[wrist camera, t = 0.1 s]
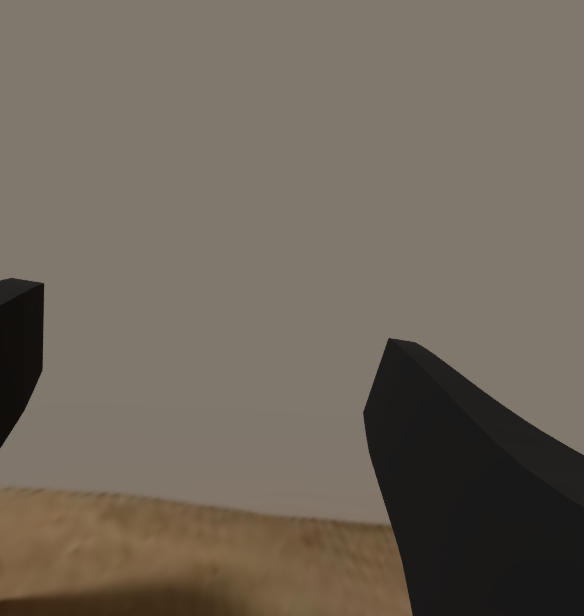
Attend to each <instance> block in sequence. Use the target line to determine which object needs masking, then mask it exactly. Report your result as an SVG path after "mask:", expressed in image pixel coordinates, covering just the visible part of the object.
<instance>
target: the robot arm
mask: <svg viewBox="0 0 584 616" xmlns="http://www.w3.org/2000/svg"><path fill="white" fill-rule="evenodd" d="M43 315H44V283H39V282H33V281H27V280H21V279H14V278H9V279H5V280H1V281H0V448H1V446H2V445H3V443H4V442H5V440H6V439H7V437H8V435H9V434H10V432H11V431H12V429H13V427H14V426H15V424H16V423H17V421H18V420H19V418H20V416H21V415H22V413H23V412H24V410H25V408H26V405H27V404H28V401H29V399H30V397H31V395H32V393H33V391H34V388H35V386H36V384H37V381H38V379H39V377H40V375H41V372H42V366H43V364H42V363H43ZM363 415H364V423H365V430H366V437H367V443H368V449H369V454H370V457H371V461H372V464H373V467H374V470H375V474H376V477H377V480H378V483H379V487H380V490H381V493H382V496H383V500H384V503H385V506H386V509H387V512H388V515H389V519H390V522H391V525H392V528H393V531H394V535H395V538H396V541H397V544H398V548H399V552H400V556H401V559H402V563H403V568H404V573H405V578H406V583H407V588H408V593H409V598H410V603H411V608H412V614H413V616H584V455H582V454H581V453H579V452H577V451H575V450H573V449H572V448H570V447H568V446H566V445H565V444H563V443H561V442H560V441H558V440H556V439H554V438H553V437H551V436H549V435H547V434H546V433H544V432H542V431H541V430H539V429H538V428H536V427H535V426H533V425H531V424H530V423H528V422H527V421H525V420H524V419H522V418H521V417H519V416H518V415H516V414H515V413H513V412H512V411H511V410H509V409H507V408H506V407H505V406H503V405H502V404H500V403H499V402H498V401H496V400H495V399H493V398H492V397H491V396H489V395H488V394H486V393H485V392H483V391H482V390H481V389H479V388H478V387H477V386H476V385H474V384H473V383H472V382H470V381H469V380H468V379H466V378H465V377H464V376H462V375H461V374H460V373H458V372H457V371H456V370H455V369H453V368H452V367H451V366H449V365H448V364H446V363H445V362H444V361H442V360H441V359H440V358H438V357H437V356H436V355H434V354H433V353H431V352H430V351H429V350H427V349H426V348H424V347H422V346H421V345H419V344H417V343H415V342H410V341H404V340H398V339H391V338H389V339H388V342H387V345H386V347H385V350H384V353H383V357H382V359H381V362H380V365H379V368H378V371H377V374H376V377H375V379H374V383H373V385H372V388H371V391H370V394H369V397H368V400H367V403H366V406H365V409H364V412H363Z"/></svg>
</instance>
